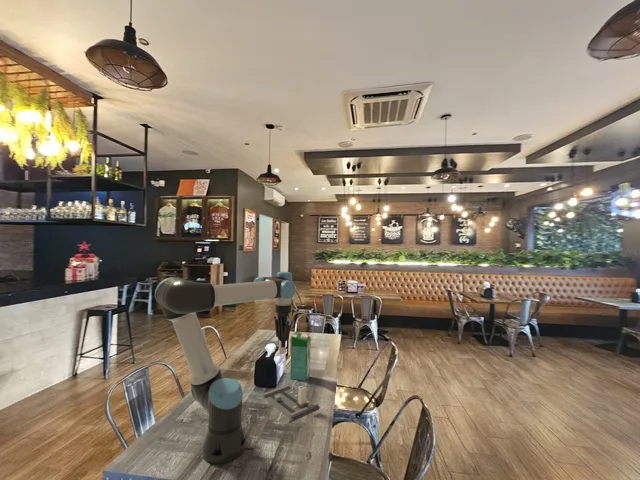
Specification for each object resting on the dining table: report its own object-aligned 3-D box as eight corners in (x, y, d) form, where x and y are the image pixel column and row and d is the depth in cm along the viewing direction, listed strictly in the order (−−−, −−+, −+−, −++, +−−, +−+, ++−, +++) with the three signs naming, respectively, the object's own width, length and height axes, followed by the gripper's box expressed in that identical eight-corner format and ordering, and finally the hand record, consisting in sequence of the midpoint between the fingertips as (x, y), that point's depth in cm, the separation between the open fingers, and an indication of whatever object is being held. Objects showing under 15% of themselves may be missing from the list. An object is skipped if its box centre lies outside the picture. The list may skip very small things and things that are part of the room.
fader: (302, 408, 132) (302, 389, 132) (296, 404, 136) (296, 386, 136) (308, 405, 135) (308, 387, 135) (302, 401, 138) (302, 383, 138)
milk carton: (306, 383, 161) (307, 337, 161) (290, 381, 162) (291, 336, 163) (310, 376, 169) (310, 332, 170) (294, 374, 171) (295, 331, 172)
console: (290, 422, 125) (290, 414, 125) (261, 399, 143) (261, 392, 143) (318, 409, 135) (319, 401, 135) (288, 389, 153) (289, 382, 154)
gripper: (297, 305, 140) (295, 356, 139) (282, 301, 150) (281, 348, 149) (284, 307, 135) (282, 359, 134) (269, 302, 145) (268, 351, 144)
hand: (281, 353), depth 141 cm, fingers closed
